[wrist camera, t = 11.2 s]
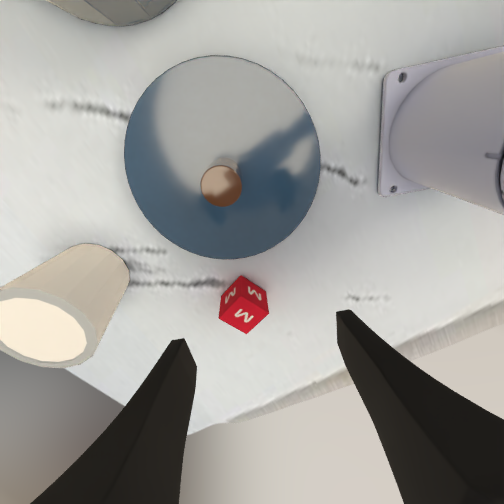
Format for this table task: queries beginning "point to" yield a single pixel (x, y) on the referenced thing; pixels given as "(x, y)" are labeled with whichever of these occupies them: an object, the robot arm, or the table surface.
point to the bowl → (114, 10)
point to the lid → (222, 157)
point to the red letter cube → (243, 305)
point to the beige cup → (62, 306)
